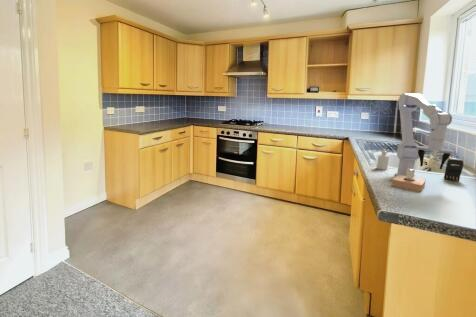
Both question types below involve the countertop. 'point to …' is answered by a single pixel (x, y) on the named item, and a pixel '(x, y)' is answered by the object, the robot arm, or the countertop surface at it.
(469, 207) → the countertop surface
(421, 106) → the robot arm
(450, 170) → the battery charger
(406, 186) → the hole block
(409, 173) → the steel peg
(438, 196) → the countertop surface
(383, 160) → the eye dropper bottle
